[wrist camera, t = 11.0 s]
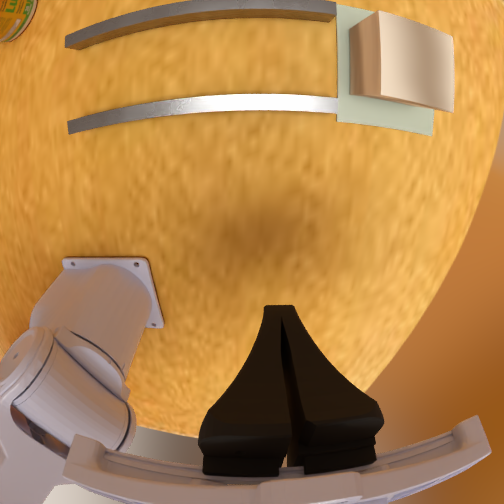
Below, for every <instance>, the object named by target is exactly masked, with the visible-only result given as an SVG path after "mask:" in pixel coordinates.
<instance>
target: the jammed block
mask: <svg viewBox="0 0 504 504" xmlns="http://www.w3.org/2000/svg"><path fill="white" fill-rule="evenodd" d="M349 35H350V95H355V96H362V97H368V98H374V99H380V100H386V101H391V102H396V103H401V104H405V105H410V106H415V107H422V108H428V109H435V110H440V111H446V112H451V113H453V111H454V49H453V37H452V36H450V35H448V34H446V33H443V32H441V31H439V30H436V29H434V28H431V27H429V26H426V25H424V24H421V23H418V22H415V21H412V20H409V19H406V18H403V17H400V16H397V15H394V14H390V13H387V12H383V11H379V10H378V11H376V12H375V13H373V14H371V15H370V16H368V17H367V18H365V19H364V20H362V21H360V22H359V23H357V24H356V25H354V26H353V27H351V28H350V29H349Z"/></svg>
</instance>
